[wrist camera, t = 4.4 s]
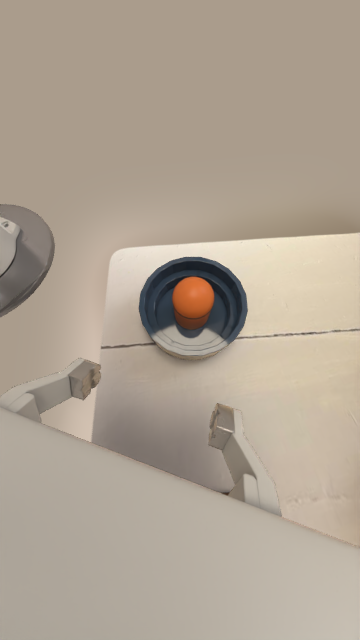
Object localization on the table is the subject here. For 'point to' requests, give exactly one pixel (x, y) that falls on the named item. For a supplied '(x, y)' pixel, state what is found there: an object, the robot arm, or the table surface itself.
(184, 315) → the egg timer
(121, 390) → the table surface
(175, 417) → the table surface
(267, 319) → the table surface
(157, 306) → the glazed bowl
